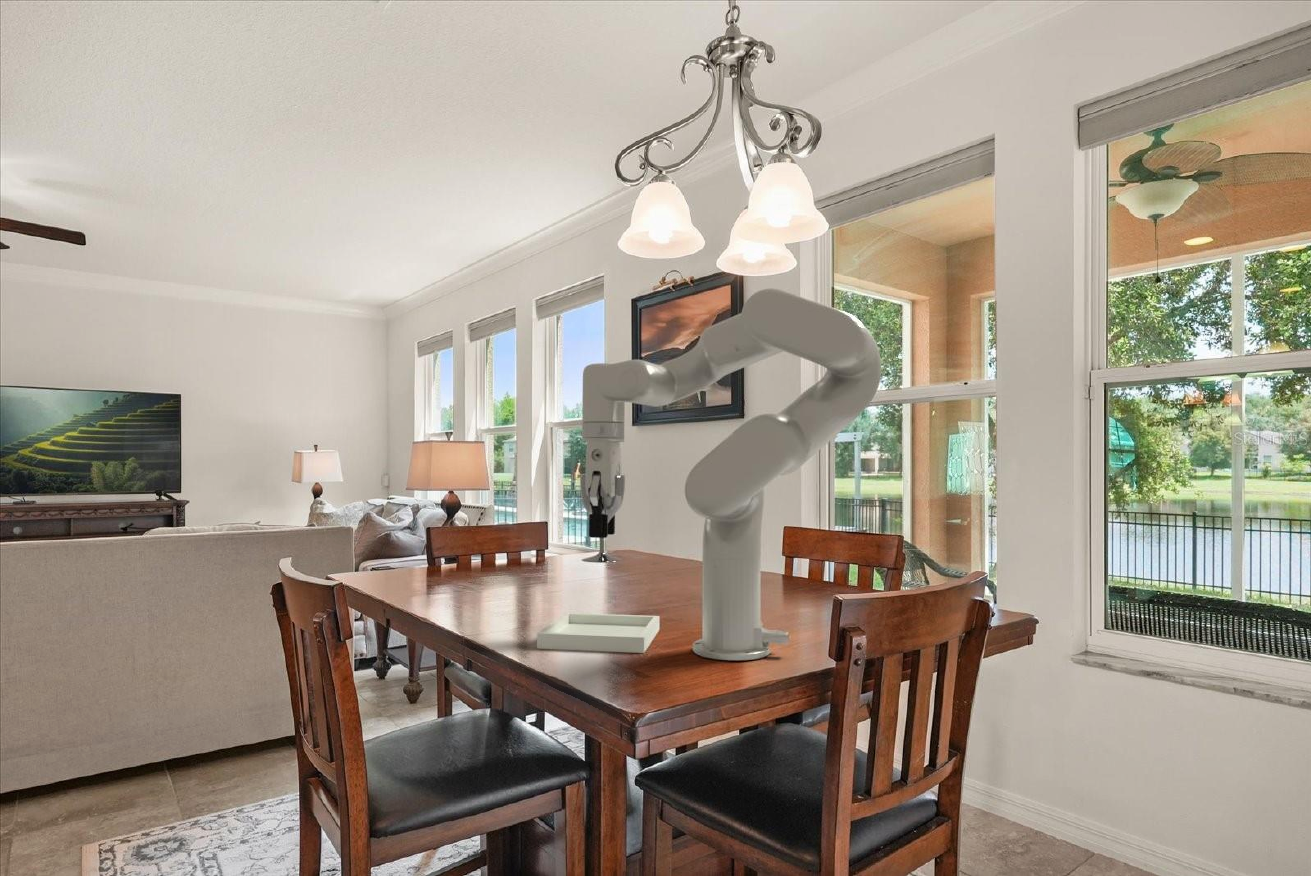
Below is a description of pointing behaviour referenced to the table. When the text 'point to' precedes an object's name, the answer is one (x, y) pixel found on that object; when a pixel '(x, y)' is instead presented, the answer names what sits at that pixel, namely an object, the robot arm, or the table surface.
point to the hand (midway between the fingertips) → (602, 534)
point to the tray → (599, 633)
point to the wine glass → (611, 510)
